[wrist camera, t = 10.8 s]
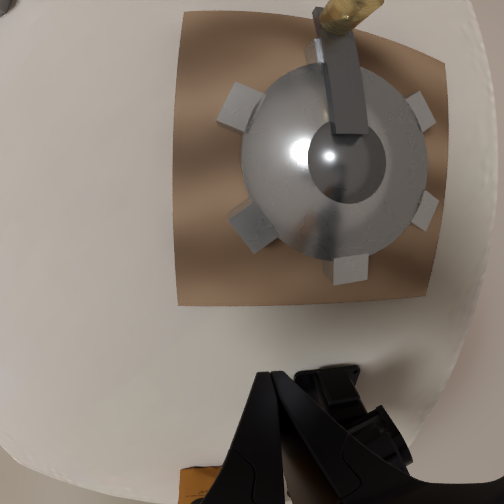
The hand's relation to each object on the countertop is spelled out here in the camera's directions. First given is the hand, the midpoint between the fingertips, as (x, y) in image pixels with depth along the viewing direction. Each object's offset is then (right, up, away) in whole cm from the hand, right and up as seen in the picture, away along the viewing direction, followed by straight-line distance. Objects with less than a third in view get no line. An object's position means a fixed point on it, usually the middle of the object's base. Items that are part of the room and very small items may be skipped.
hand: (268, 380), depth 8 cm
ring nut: (+5, +10, +8) cm, 14 cm away
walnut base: (+5, +10, +10) cm, 15 cm away
